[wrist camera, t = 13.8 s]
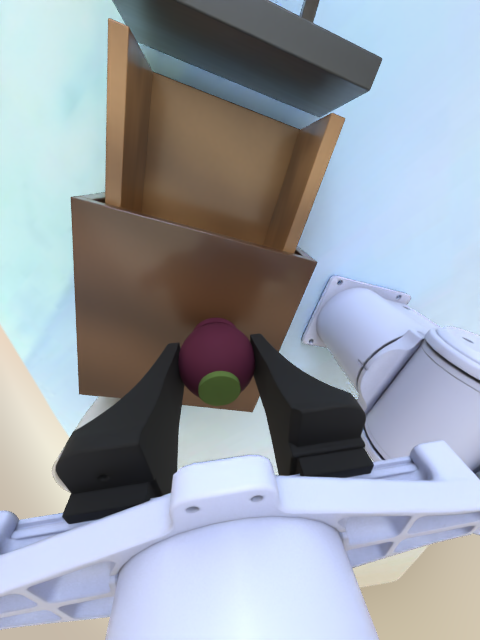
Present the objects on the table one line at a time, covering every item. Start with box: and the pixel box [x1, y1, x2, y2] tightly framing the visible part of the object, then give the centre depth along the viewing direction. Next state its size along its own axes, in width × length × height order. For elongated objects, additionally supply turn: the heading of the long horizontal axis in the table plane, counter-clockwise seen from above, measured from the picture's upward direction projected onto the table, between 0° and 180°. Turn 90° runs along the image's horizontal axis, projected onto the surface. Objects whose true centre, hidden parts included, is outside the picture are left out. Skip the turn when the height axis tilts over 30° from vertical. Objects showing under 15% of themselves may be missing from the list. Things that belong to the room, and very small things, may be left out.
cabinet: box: [71, 192, 317, 412], centre depth 20 cm, size 13×13×8 cm
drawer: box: [105, 0, 382, 254], centre depth 14 cm, size 17×12×6 cm
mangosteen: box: [178, 318, 255, 406], centre depth 14 cm, size 4×4×4 cm
